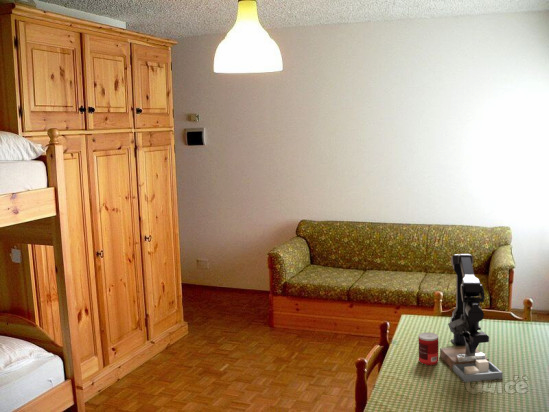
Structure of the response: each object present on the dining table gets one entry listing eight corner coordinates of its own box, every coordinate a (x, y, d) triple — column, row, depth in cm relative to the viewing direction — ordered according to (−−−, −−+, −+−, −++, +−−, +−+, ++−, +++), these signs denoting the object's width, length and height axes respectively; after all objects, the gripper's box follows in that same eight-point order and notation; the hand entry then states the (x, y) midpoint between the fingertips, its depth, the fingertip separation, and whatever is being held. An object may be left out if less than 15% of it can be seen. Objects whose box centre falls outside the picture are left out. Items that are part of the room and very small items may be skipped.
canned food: (439, 359, 238) (439, 333, 236) (436, 367, 231) (436, 340, 229) (420, 356, 241) (420, 331, 240) (416, 364, 234) (416, 338, 232)
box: (452, 370, 227) (453, 364, 226) (489, 367, 228) (489, 361, 228) (463, 382, 217) (464, 375, 217) (502, 378, 219) (502, 372, 218)
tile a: (469, 371, 219) (468, 377, 219) (479, 370, 219) (479, 376, 220) (464, 366, 223) (464, 373, 223) (474, 366, 223) (474, 372, 224)
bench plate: (440, 356, 241) (440, 348, 240) (472, 353, 242) (472, 345, 242) (454, 370, 227) (454, 362, 226) (488, 367, 228) (488, 359, 228)
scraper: (455, 359, 229) (455, 342, 227) (482, 357, 230) (482, 340, 229) (458, 362, 226) (458, 345, 225) (485, 359, 227) (485, 342, 226)
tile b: (475, 360, 225) (478, 362, 223) (485, 359, 225) (488, 361, 223) (475, 369, 226) (478, 372, 223) (485, 369, 226) (488, 371, 224)
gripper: (441, 307, 233) (441, 344, 236) (461, 323, 215) (460, 363, 217) (468, 305, 235) (467, 342, 237) (490, 320, 216) (489, 360, 219)
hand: (470, 351), depth 227 cm, fingers closed on scraper, 2 cm apart
